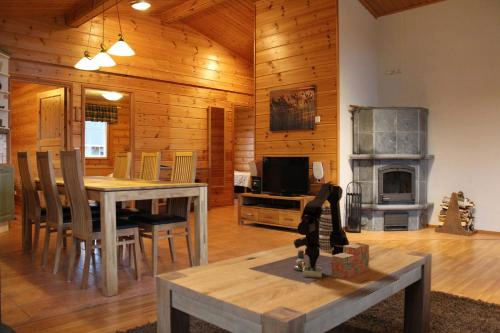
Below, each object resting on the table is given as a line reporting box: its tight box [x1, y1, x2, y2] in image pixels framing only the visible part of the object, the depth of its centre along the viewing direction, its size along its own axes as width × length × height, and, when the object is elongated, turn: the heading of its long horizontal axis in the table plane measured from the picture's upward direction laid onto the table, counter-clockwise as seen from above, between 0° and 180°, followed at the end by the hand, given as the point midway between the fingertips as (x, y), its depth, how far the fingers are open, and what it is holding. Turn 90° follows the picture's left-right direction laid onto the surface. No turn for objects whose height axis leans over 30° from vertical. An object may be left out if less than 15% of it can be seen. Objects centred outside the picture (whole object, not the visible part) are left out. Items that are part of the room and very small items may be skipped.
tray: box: [302, 265, 323, 279], centre depth 193 cm, size 8×8×2 cm
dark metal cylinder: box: [307, 256, 318, 271], centre depth 192 cm, size 4×4×7 cm
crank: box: [295, 249, 305, 266], centre depth 205 cm, size 11×3×5 cm, turn 170°
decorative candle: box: [318, 205, 333, 253], centre depth 244 cm, size 9×9×25 cm
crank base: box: [292, 261, 307, 272], centre depth 201 cm, size 6×6×4 cm
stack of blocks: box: [330, 242, 370, 279], centre depth 196 cm, size 21×6×12 cm, turn 135°
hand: (312, 266), depth 193 cm, fingers open, 4 cm apart
